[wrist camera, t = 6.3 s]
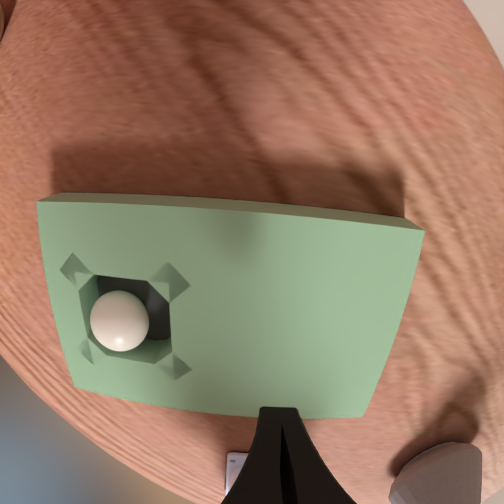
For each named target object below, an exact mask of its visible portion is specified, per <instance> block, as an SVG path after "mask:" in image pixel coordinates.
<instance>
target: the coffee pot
mask: <svg viewBox="0 0 504 504" xmlns="http://www.w3.org/2000/svg"><path fill="white" fill-rule="evenodd" d="M481 486H482V452H481V451H480V450H479V449H478V448H477V447H476V446H474V445H471V444H466V443H457V442H446V443H443V444H439V445H437V446H434V447H432V448H430V449H428V450H426V451H424V452H422V453H421V454H419V455H417V456H416V457H414V458H413V459H412V460H410V461H409V462H408V463H407V464H406V465H405V466H404V467H403V468H402V469H401V471H400V473H399V475H398V476H397V478H396V479H395V481H394V482H393V484H392V486H391V489H390V494H389V501H390V502H391V504H480V503H481Z"/></svg>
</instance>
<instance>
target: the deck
mask: <svg viewBox="0 0 504 504" xmlns="http://www.w3.org/2000/svg"><path fill="white" fill-rule="evenodd" d="M36 205H37V217H38V227H39V236H40V244H41V251H42V258H43V265H44V271H45V276H46V282H47V287H48V292H49V297H50V302H51V306H52V311H53V315H54V319H55V323H56V327H57V331H58V335H59V338H60V342H61V345H62V349H63V352H64V356H65V359H66V362H67V365H68V369H69V372H70V375H71V378H72V381H73V383H74V386H75V387H76V388H80V389H84V390H87V391H91V392H95V393H99V394H103V395H107V396H111V397H116V398H120V399H125V400H129V401H134V402H139V403H144V404H150V405H155V406H161V407H167V408H173V409H180V410H187V411H194V412H202V413H211V414H220V415H231V416H244V417H258V415H259V409H260V408H261V407H263V406H267V407H296V408H297V409H298V412H299V414H300V417H301V419H325V418H351V417H363V415H364V413H365V411H366V409H367V406H368V404H369V402H370V400H371V397H372V395H373V393H374V390H375V388H376V386H377V383H378V381H379V378H380V376H381V374H382V371H383V369H384V366H385V363H386V361H387V358H388V356H389V353H390V350H391V347H392V345H393V342H394V339H395V336H396V333H397V331H398V328H399V325H400V322H401V319H402V315H403V312H404V309H405V306H406V303H407V299H408V296H409V293H410V289H411V286H412V282H413V279H414V275H415V271H416V267H417V263H418V260H419V255H420V251H421V247H422V243H423V238H424V234H425V230H423V229H422V228H420V227H419V226H417V225H415V224H414V223H412V222H411V221H409V220H407V219H406V218H401V217H394V216H387V215H379V214H371V213H363V212H355V211H347V210H338V209H329V208H320V207H311V206H301V205H291V204H280V203H269V202H257V201H245V200H232V199H218V198H203V197H186V196H168V195H145V194H117V193H58V194H55V195H52V196H49V197H47V198H44V199H41V200H39V201H36ZM97 275H99V276H97ZM116 290H121V291H126V292H129V293H131V294H133V295H135V296H136V297H138V298H139V299H140V300H141V301H142V303H143V304H144V306H145V308H146V310H147V312H148V316H149V328H148V332H147V335H146V337H145V338H144V340H143V341H142V342H141V343H140V344H139V345H138V346H137V347H135V348H133V349H131V350H128V351H114V350H111V349H108V348H106V347H105V346H103V345H102V344H101V343H100V342H99V341H98V340H97V339H96V337H95V336H94V334H93V332H92V329H91V325H90V314H91V310H92V308H93V305H94V304H95V302H96V301H97V300H98V299H99V298H100V297H101V296H102V295H104V294H106V293H108V292H111V291H116ZM169 335H171V336H169ZM168 336H169V337H168ZM166 337H168V338H167V339H165V340H162V339H163V338H166Z"/></svg>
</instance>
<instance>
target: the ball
mask: <svg viewBox="0 0 504 504" xmlns="http://www.w3.org/2000/svg"><path fill="white" fill-rule="evenodd" d="M90 325H91V329H92V332H93V334H94V336H95V337H96V339H97V340H98V341H99V342H100V343H101V344H102V345H103V346H105V347H106V348H108V349H111V350H114V351H128V350H131V349H133V348H135V347H137V346H138V345H139V344H140V343H141V342H142V341H143V340H144V338H145V337H146V335H147V332H148V328H149V316H148V312H147V310H146V308H145V306H144V304H143V303H142V301H141V300H140V299H139V298H138V297H136V296H135V295H133V294H131V293H129V292H126V291H121V290H116V291H111V292H108V293H106V294H104V295H102V296H101V297H100V298H99V299H98V300H97V301H96V302H95V304H94V305H93V308H92V310H91V314H90Z"/></svg>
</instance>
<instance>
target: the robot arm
mask: <svg viewBox="0 0 504 504" xmlns="http://www.w3.org/2000/svg"><path fill="white" fill-rule="evenodd" d="M225 495H226V497H225V498H224V500H223V501H222V503H221V504H357V503H356V502H355V501H354V500H353V499H352V498H351V497H350V496H349V495H348V494H347V493H346V492H345V490H344V489H343V488H342V487H341V485H340V484H339V483H338V482H337V480H336V479H335V478H334V476H333V475H332V474H331V472H330V471H329V469H328V468H327V466H326V465H325V463H324V462H323V460H322V458H321V457H320V455H319V453H318V452H317V450H316V448H315V446H314V445H313V443H312V441H311V439H310V437H309V435H308V433H307V431H306V429H305V426H304V424H303V422H302V419H301V417H300V414H299V412H298V409H297V408H296V407H267V406H263V407H261V408H260V409H259V415H258V422H257V428H256V434H255V437H254V440H253V443H252V445H251V448H250V451H249V453H235V452H231V453H228V455H227V471H226V492H225Z"/></svg>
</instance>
